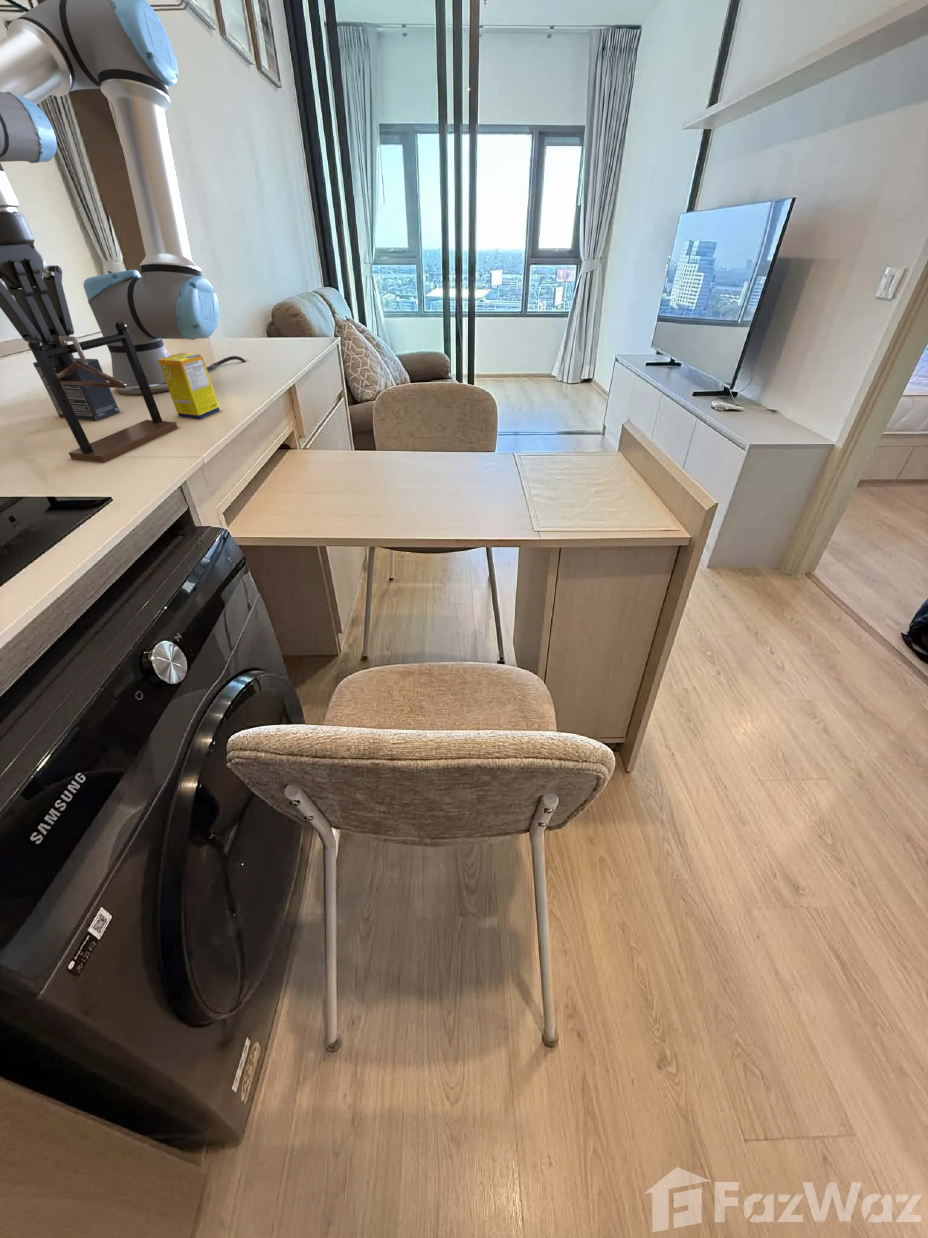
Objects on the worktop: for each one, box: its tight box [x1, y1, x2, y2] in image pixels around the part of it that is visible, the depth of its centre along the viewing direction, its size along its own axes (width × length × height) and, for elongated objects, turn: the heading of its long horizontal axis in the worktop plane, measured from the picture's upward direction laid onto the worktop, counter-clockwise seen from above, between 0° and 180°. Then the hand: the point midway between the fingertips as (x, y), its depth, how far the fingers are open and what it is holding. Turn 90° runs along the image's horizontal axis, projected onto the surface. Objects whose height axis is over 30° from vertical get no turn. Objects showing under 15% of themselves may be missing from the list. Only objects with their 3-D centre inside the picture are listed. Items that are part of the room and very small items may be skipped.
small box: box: [32, 357, 121, 421], centre depth 104 cm, size 11×6×10 cm, turn 72°
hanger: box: [57, 335, 126, 389], centre depth 82 cm, size 1×15×7 cm, turn 74°
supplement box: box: [158, 352, 221, 420], centre depth 102 cm, size 6×6×11 cm
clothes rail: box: [27, 321, 179, 463], centre depth 87 cm, size 18×7×18 cm, turn 164°
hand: (73, 384), depth 88 cm, fingers closed
